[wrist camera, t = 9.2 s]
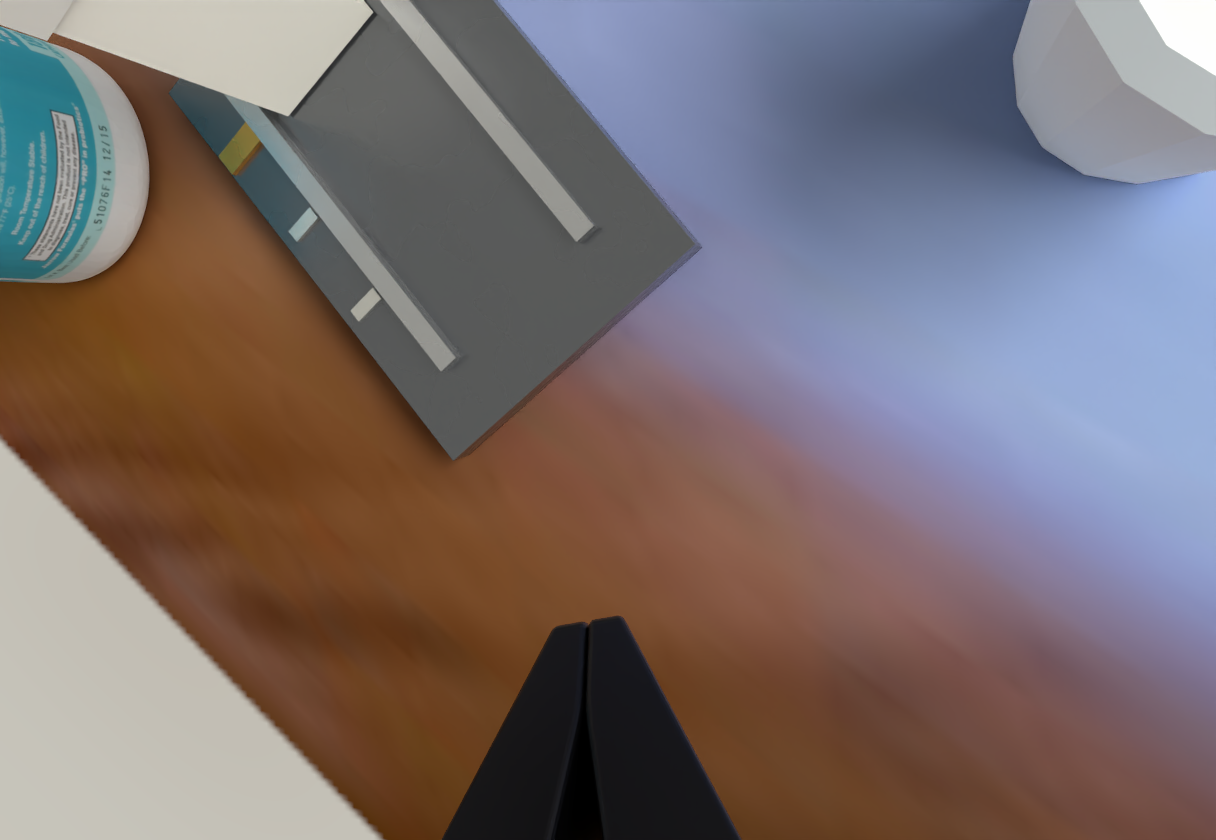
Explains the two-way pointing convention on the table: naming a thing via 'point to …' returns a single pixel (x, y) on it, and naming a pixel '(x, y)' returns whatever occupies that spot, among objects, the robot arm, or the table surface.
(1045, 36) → the white cylinder
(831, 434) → the table surface
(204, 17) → the fader tab
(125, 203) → the pill bottle
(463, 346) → the console
